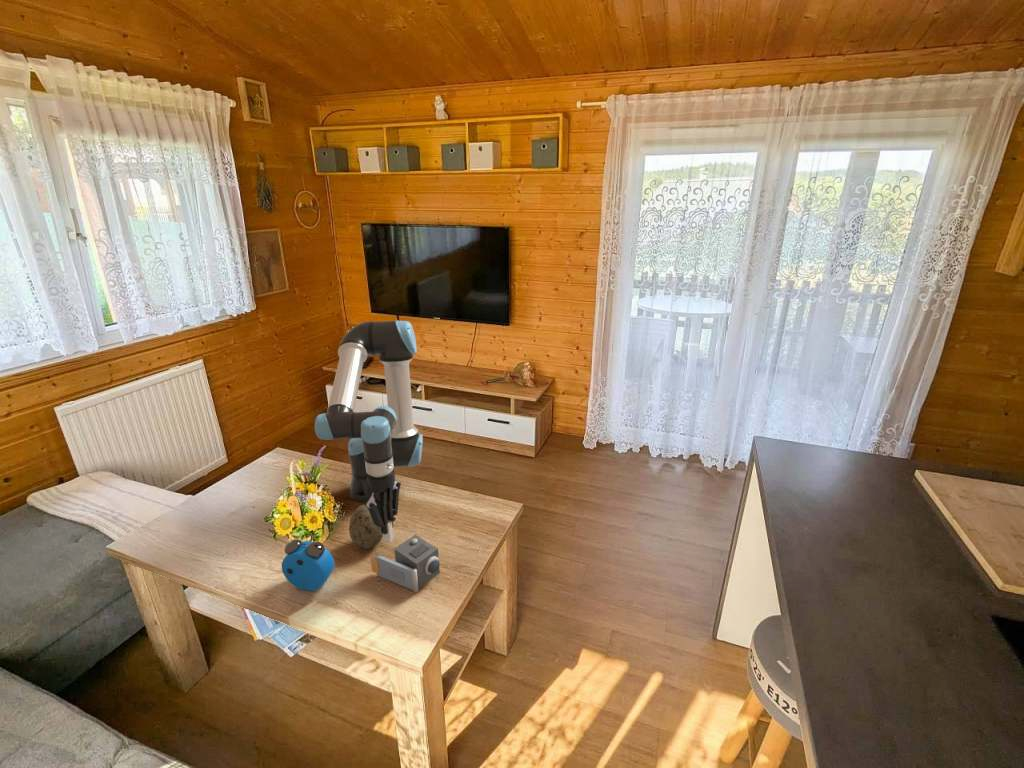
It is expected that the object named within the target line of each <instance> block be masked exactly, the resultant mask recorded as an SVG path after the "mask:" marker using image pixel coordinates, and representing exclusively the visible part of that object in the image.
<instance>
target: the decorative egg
mask: <svg viewBox="0 0 1024 768" xmlns="http://www.w3.org/2000/svg"><path fill="white" fill-rule="evenodd" d="M348 526H349V527H348V532H349V533H348V534H349V536H350V539H351V541H352V542H353V544H355V546H357V547H359V548H361V549H371V548H373V547H375V546H377V545H378V544H379V543H380V542H381V541H382V539H383V534H382V533H381V527H379V526H376V525H374V522H373V520H372V517H371V515H370V512H369V510H368V508H367V507H366V506H365V505H364V504H362V505H359V506H358V507H357V508H356V509H355V510H354V512H353V513H352V516H351V517H350V519H349V525H348Z"/></svg>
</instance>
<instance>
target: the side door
mask: <svg viewBox="0 0 1024 768" xmlns="http://www.w3.org/2000/svg"><path fill="white" fill-rule="evenodd" d="M369 560H370V566H371V572H373V573H376V576H378V577H381V578H382V579H385V580H388V581H390V582H392V583H395V584H397V585H400V586H401V587H403V588H407V589H409V590H411V591H413V592H414V593H419V591H420V590H419V587H418V577H417V569H415V568H414V569H412V568H410V567H408V566H405V565H403V564H400V563H398V562H396V560H392V559H390V558H387V557H385V556H383V555H380V554H378V553H376V554H372V556H371V557H370V559H369Z"/></svg>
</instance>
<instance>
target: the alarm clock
mask: <svg viewBox="0 0 1024 768" xmlns="http://www.w3.org/2000/svg"><path fill="white" fill-rule="evenodd" d="M284 553H285V555H286V556H285V557H284V558H283V560H282V562H281V571H282V574H283V576H284V577H285V579H286V581H288V582H289V583H290V584H291V585H292V586H294V587H295V588H298V589H299V590H303V591H307V592H308V591H309V592H311V591H312V592H313V591H317V590H319V589H321V588H322V587H323V585H324V584H325V583H326V582H327V581H328V579H329V577H330V576H331V574H332V573H334V572H333V571H334V569H335V560H334V557H333V555H332V554H331V552H330V551H329V549H327V548H326V547H325V546H324V544H323V543H322V542H320V541H310V540H305V541H302V540H301V539H299V538H295V539H291V540H288V541H287V543H286V545H285V547H284Z"/></svg>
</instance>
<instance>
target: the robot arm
mask: <svg viewBox="0 0 1024 768" xmlns="http://www.w3.org/2000/svg"><path fill="white" fill-rule="evenodd" d="M417 351H418V349H417V339H416V334H415V331H414V328H413V325H412V324H411V322H410V321H408V320H384V321H383V320H379V321H364V322H361V323H360V322H359V324H356V325H354V326H353V327H352V328H351V329H349V330H348V331H347V332H346V334H345V335H344V336H343V337H342V339H341V341H340V343H339V346H338V349H337V355H338V357H339V358H338V363H337V368H336V371H335V377H334V379H333V380H334V381H333V385H332V387H331V388H332V389H331V391H330V392H331V393H330V398H329V401H328V406H327V410H326V412H323V413H320V414H317V416H316V417H315V420H314V432H315V434H316V437H317V438H318V439H320V440H326V441H327V440H329V441H330V440H332V441H334V440H346V439H347V440H348V439H349V441H348V444H347V447H348V452H347V453H348V457H349V462H350V468H351V475H352V476H351V479H350V484H349V496H350V497H351V498H352V499H353V500H354V501H356V502H360V503H364V504H363V505H365V506H366V507H367V508H368V510H369V512H370V515H371V517H372V520H373V522H374V525H376V526H379V527H381V533H382V534H383V537H382V539H383V541H385V542H387V543H392V542H394V540H395V537H394V530H393V529H394V522H395V521H396V520H397V518H396V517H395V516H397V515H398V512H399V511H398V510H399V494H400V490H401V489H400V488H401V482H398V481H396V475H395V473H396V472H395V469H394V468H406V467H407V468H410V467H417V466H418V465H420V464H421V460H422V452H423V443H424V441H423V440H424V437H423V434H421V433H419V429H418V428H417V427H415V425H414V415H413V401H412V388H411V387H412V386H411V374H410V362H412V360H413V359H414V357H413V355H415V354H417ZM369 356H378V360H379V362H380V363H381V364H383V367H384V379H385V389H386V401H387V406H386V405H381V406H378V407H376V408H375V409H373V410H372V411H356V412H355V408H356V402H357V397H358V393H359V392H358V391H359V387H360V382H361V375H362V370H363V365H364V363H365V362H366V360H367V359H368V357H369Z"/></svg>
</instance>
